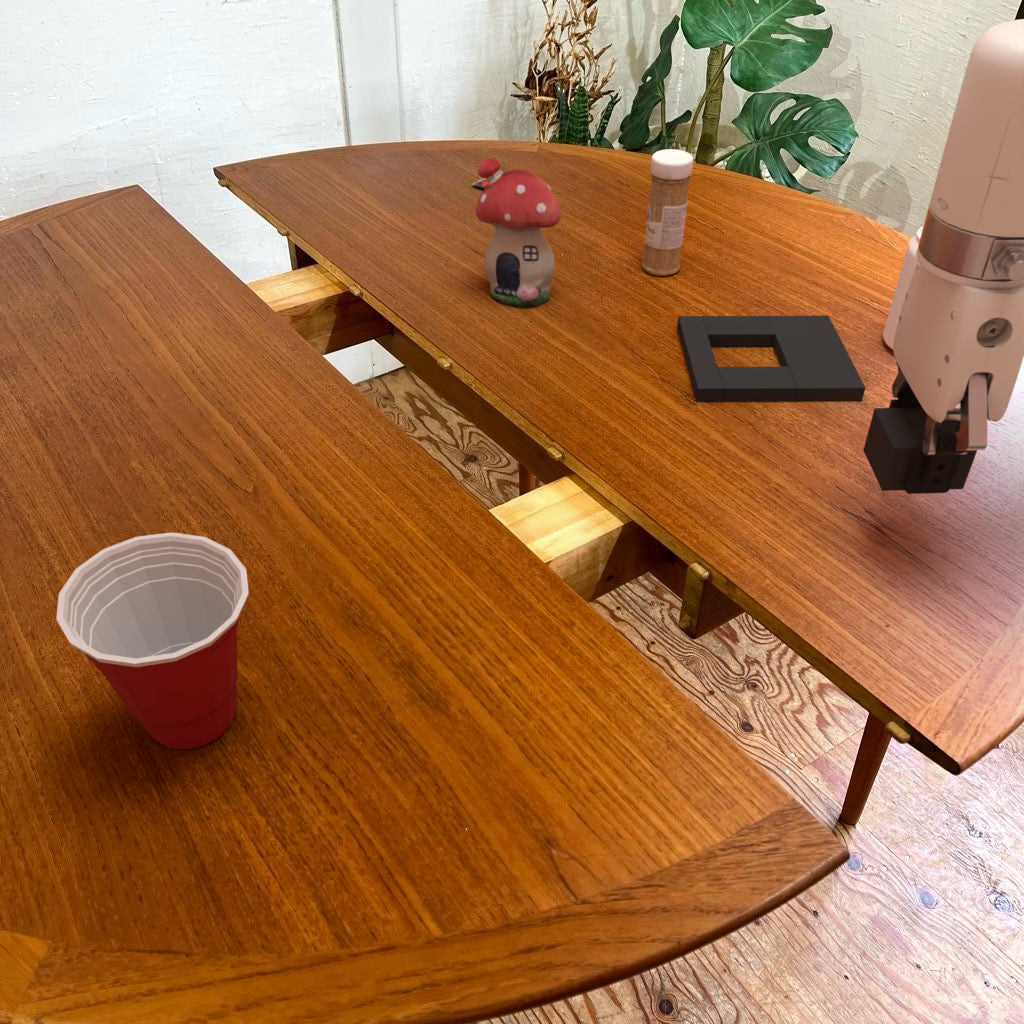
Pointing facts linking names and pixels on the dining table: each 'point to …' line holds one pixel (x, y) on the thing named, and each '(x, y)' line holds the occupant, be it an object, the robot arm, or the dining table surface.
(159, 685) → the plastic cup
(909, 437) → the small black block
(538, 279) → the decorative ornament
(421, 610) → the dining table surface
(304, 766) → the dining table surface
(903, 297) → the beverage can
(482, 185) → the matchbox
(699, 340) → the base pad
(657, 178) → the sprinkles bottle
